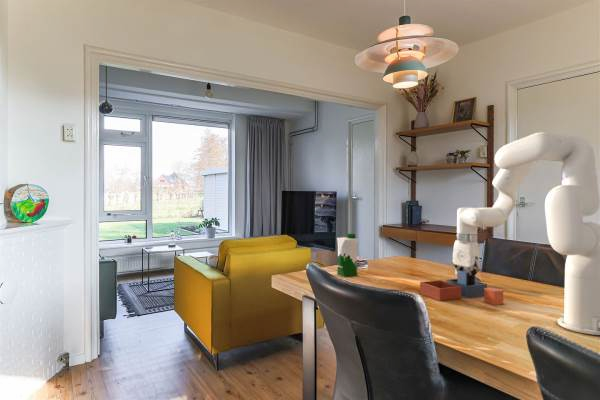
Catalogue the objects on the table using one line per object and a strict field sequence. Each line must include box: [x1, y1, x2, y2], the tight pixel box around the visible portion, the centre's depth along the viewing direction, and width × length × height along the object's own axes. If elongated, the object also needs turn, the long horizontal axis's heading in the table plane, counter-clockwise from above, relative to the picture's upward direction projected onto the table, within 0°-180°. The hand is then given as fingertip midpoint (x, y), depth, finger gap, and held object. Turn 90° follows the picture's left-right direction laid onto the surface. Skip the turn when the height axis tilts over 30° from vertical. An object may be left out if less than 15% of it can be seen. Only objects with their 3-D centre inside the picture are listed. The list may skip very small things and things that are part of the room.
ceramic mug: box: [454, 266, 482, 283], centre depth 164 cm, size 11×8×8 cm
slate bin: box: [445, 278, 488, 299], centre depth 146 cm, size 11×10×4 cm
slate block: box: [457, 270, 469, 285], centre depth 146 cm, size 4×4×5 cm
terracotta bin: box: [419, 279, 462, 302], centre depth 142 cm, size 11×10×4 cm
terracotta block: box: [483, 287, 504, 306], centre depth 133 cm, size 4×4×5 cm
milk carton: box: [336, 233, 359, 278], centre depth 178 cm, size 9×9×20 cm
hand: (465, 282), depth 147 cm, fingers closed on slate block, 4 cm apart
